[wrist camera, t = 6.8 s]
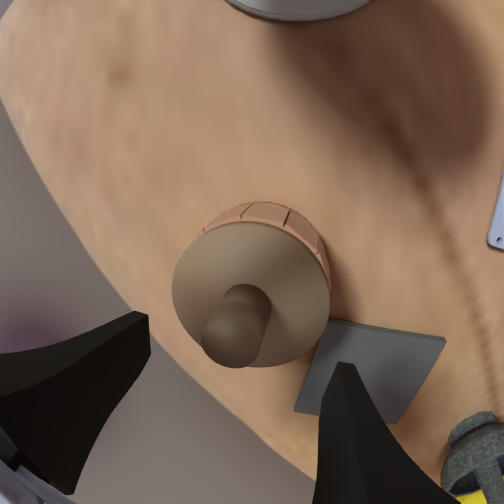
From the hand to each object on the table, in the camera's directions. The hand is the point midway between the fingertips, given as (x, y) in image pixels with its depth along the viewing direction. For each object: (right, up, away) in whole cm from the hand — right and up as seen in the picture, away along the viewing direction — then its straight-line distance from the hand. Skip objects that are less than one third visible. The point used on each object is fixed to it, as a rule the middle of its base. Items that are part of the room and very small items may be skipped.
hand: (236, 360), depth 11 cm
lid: (0, +1, +6) cm, 6 cm away
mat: (+10, -6, +11) cm, 16 cm away
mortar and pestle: (+25, -16, +12) cm, 32 cm away
